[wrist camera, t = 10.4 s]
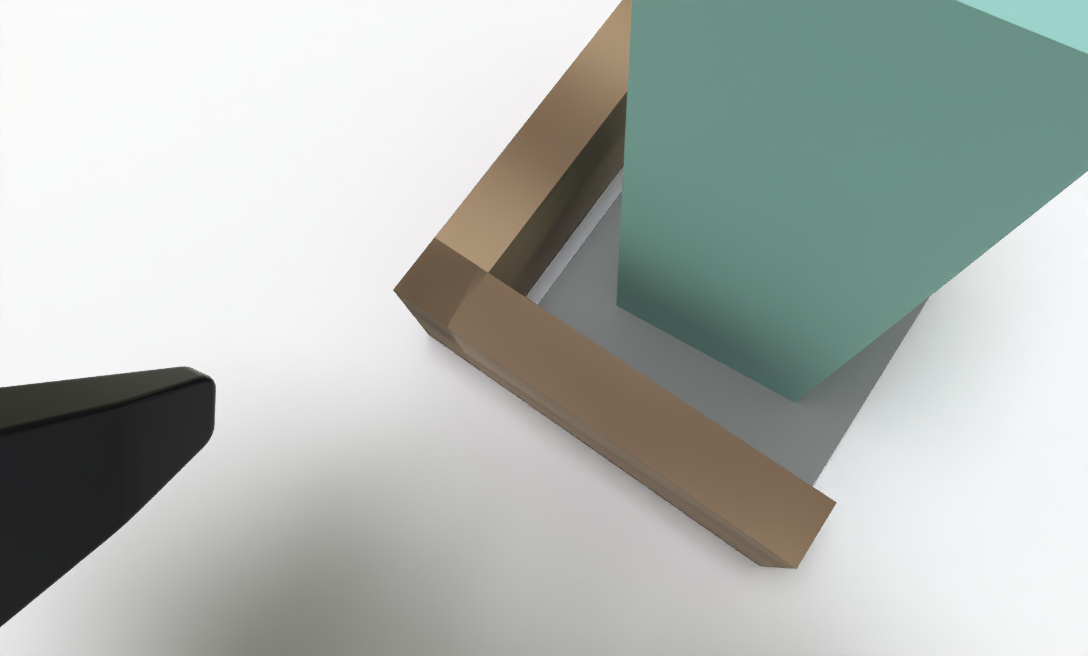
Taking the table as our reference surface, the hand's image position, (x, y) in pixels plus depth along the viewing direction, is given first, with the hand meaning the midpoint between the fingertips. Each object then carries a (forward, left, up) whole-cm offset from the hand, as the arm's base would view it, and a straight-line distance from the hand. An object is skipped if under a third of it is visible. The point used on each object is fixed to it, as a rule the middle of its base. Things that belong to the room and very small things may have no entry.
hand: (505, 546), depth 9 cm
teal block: (+9, 0, -9) cm, 13 cm away
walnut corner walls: (+7, +1, -9) cm, 12 cm away
